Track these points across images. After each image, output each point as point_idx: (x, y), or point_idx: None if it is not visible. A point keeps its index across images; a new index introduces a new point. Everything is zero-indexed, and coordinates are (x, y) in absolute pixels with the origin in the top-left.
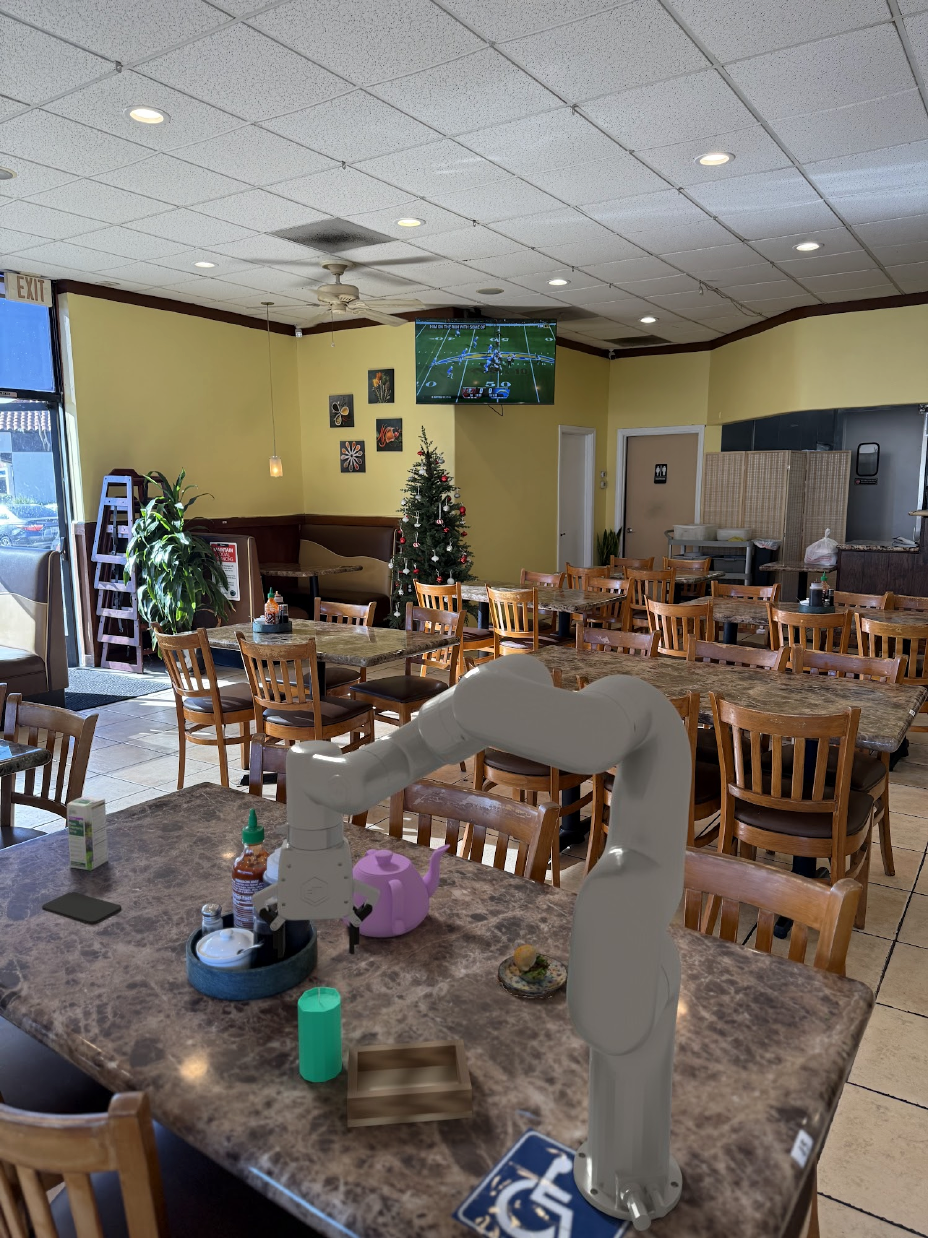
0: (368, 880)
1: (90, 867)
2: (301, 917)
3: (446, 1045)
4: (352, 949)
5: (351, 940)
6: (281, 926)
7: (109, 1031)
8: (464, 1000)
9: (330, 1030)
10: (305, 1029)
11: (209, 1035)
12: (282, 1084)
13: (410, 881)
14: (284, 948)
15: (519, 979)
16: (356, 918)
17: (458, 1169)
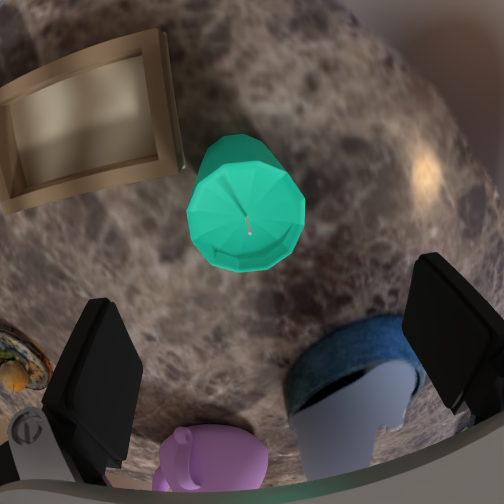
0: (228, 488)
1: (467, 428)
2: (483, 457)
3: (20, 197)
4: (90, 312)
5: (78, 346)
6: (493, 368)
7: (498, 248)
8: (66, 328)
9: (210, 162)
10: (271, 158)
11: (413, 245)
12: (297, 129)
13: (175, 485)
14: (410, 310)
15: (25, 356)
16: (19, 452)
17: (20, 5)
